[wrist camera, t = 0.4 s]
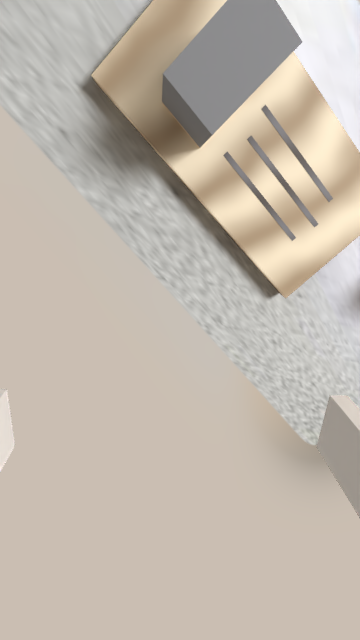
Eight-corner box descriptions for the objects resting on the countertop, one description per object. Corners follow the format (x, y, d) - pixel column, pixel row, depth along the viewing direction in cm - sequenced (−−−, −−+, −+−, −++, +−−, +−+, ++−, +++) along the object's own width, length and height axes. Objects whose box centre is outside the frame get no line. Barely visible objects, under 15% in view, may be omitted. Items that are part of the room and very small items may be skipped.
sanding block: (199, 148, 31) (212, 135, 24) (161, 102, 30) (162, 73, 23) (266, 79, 30) (302, 42, 22) (230, 26, 28) (255, -32, 21)
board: (95, 82, 31) (91, 75, 29) (209, -55, 28) (212, -73, 26) (279, 293, 39) (285, 298, 37) (382, 204, 36) (394, 205, 34)
